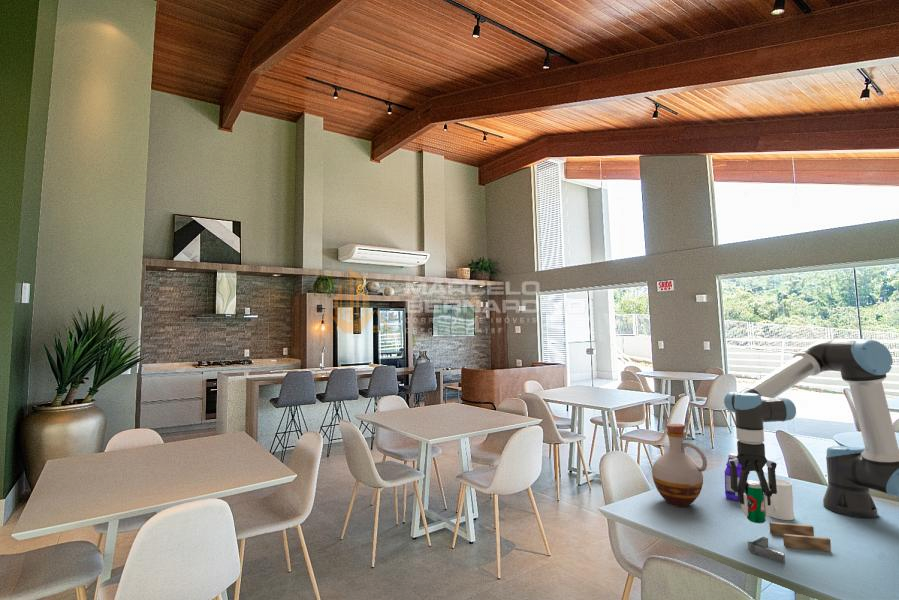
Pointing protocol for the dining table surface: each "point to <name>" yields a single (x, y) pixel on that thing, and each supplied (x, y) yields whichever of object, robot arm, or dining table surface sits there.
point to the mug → (781, 501)
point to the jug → (678, 470)
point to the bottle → (728, 491)
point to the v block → (765, 550)
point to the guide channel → (800, 536)
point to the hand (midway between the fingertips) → (755, 514)
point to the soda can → (755, 502)
